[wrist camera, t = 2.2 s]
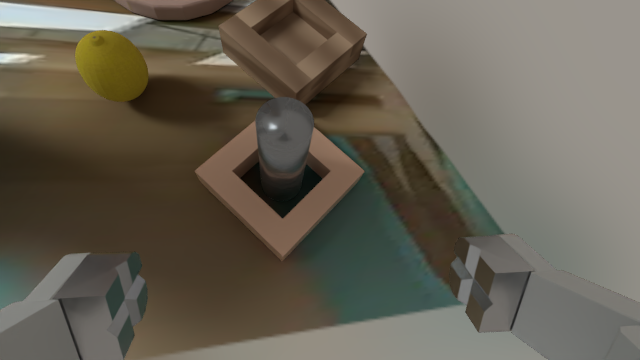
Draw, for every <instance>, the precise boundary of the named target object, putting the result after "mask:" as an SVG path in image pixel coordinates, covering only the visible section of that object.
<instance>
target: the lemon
mask: <svg viewBox="0 0 640 360" xmlns="http://www.w3.org/2000/svg"><path fill="white" fill-rule="evenodd" d="M75 59H76V64H77V67H78V70H79V72H80V74H81V76H82V78H83V79H84V81H85V82H86V84H87V85H88V86H89V87H90V88H91V89H92V90H93V91H94V92H96V93H97V94H98V95H100V96H102V97H104V98H106V99H108V100H112V101H117V102H124V101H130V100H132V99H135V98H137V97H138V96H140V95H141V93H142V92H143V91H144V90H145V88H146V86H147V83H148V68H147V65H146V63H145V60H144V58H143V56H142V54H141V53H140V51H139V50H138V49H137V48H136V47H135V46H134V45H133V44H132V42H130V41H129V40H128V39H127V38H125V37H123V36H122V35H120V34H118V33H115V32H112V31H106V30H100V31H95V32H91V33H89V34H87V35H86V36H84V37H83V38H82V39H81V40H80V42H79V43H78V45H77V47H76V53H75Z"/></svg>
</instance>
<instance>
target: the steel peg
mask: <svg viewBox="0 0 640 360" xmlns="http://www.w3.org/2000/svg"><path fill="white" fill-rule="evenodd" d="M255 123H256V134H257V144H258V155H259V165H260V175H261V185H262V189H263V191H264V193H265V194H266V195H267V196H268V197H269V198H271V199H273V200H275V201H288V200H291V199H292V198H294V197H295V196H296V195H297V194H298V193H299V191H300V189H301V185H302V180H303V176H304V171H305V166H306V162H307V157H308V152H309V147H310V143H311V138H312V133H313V129H314V119H313V115H312V113H311V111H310V110H309V108H308V107H307V106H306V105H305V104H303V103H302V102H300V101H299V100H296V99H294V98H289V97H278V98H274V99H271V100H269V101H267V102H266V103H264V104H263V105H262V106H261V108H260V109H259V111H258V112H257V115H256V120H255Z"/></svg>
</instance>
